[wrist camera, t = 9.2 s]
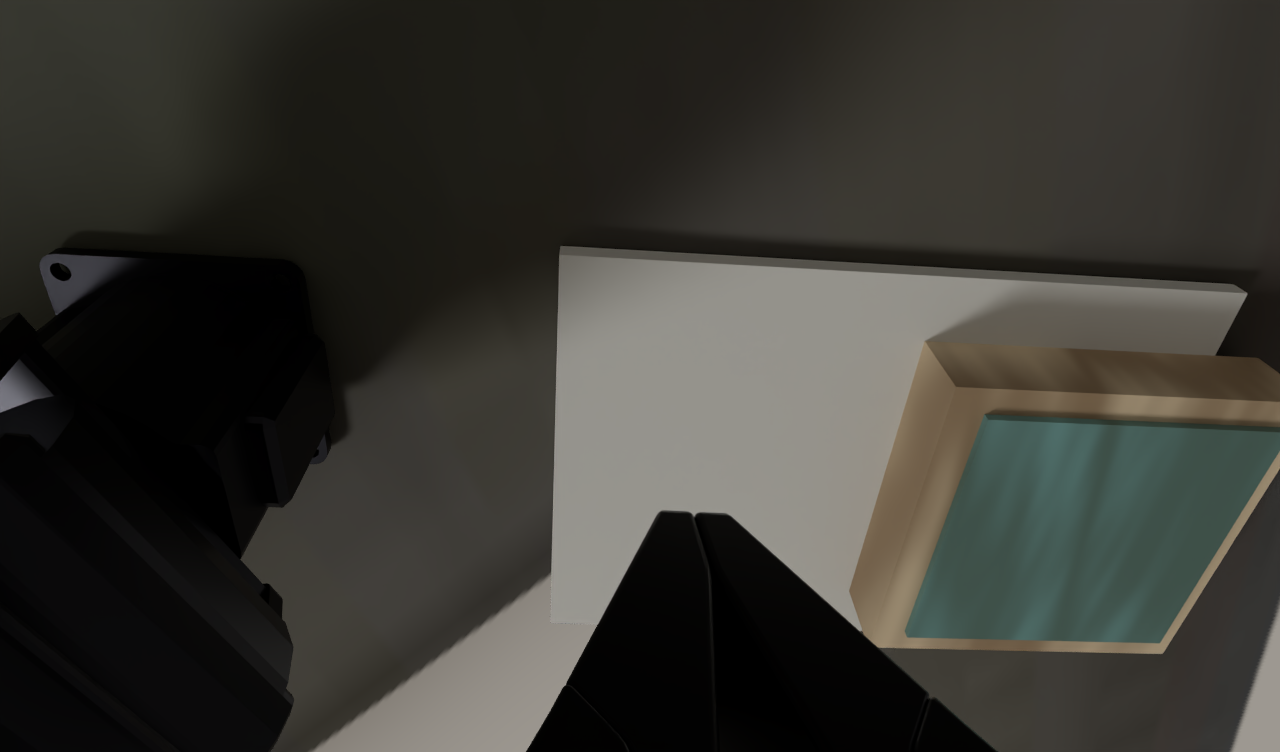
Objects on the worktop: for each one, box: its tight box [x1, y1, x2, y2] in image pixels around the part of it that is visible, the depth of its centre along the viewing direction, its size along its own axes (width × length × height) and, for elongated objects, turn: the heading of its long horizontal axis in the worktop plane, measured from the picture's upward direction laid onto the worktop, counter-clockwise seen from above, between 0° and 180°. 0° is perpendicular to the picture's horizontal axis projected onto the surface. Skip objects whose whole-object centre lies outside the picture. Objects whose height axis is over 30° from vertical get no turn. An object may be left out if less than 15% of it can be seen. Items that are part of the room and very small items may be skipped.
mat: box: [550, 246, 1248, 631], centre depth 25 cm, size 19×14×1 cm
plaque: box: [849, 341, 1280, 654], centre depth 24 cm, size 3×10×10 cm
